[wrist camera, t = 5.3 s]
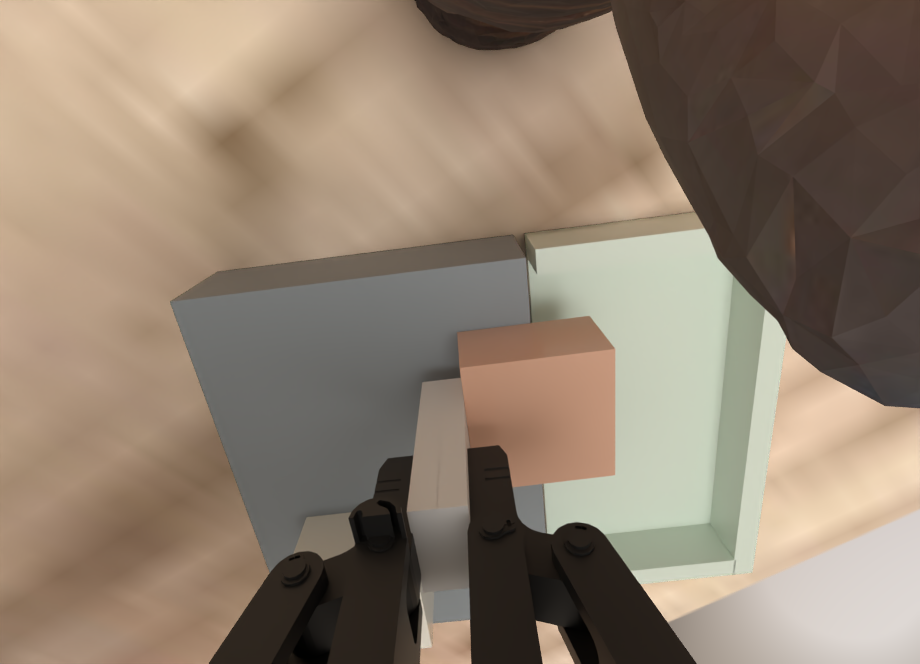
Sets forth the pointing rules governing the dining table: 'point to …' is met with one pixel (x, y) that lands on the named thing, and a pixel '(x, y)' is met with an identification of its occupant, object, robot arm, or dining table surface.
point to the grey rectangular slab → (341, 372)
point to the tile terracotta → (542, 398)
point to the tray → (667, 392)
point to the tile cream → (336, 538)
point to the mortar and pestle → (778, 153)
